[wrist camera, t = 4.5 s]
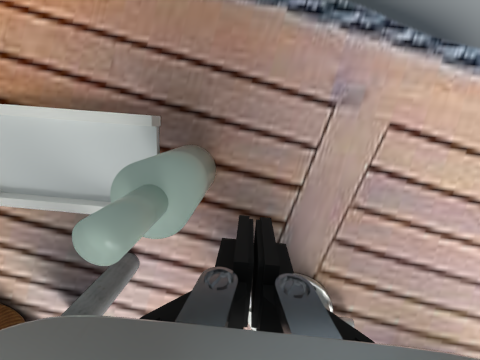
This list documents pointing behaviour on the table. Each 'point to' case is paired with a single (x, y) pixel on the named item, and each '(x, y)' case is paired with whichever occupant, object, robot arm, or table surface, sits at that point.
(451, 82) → the table surface
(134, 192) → the bottle
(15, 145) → the white rectangular tray
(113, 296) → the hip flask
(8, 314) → the wooden carving
